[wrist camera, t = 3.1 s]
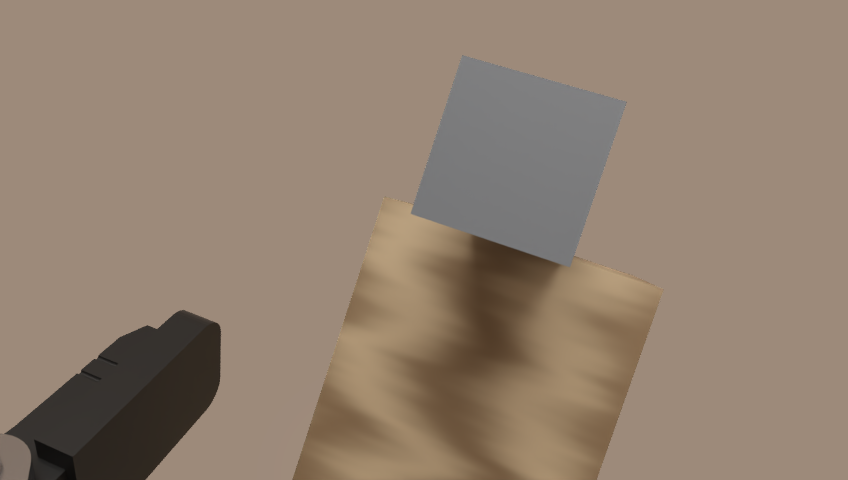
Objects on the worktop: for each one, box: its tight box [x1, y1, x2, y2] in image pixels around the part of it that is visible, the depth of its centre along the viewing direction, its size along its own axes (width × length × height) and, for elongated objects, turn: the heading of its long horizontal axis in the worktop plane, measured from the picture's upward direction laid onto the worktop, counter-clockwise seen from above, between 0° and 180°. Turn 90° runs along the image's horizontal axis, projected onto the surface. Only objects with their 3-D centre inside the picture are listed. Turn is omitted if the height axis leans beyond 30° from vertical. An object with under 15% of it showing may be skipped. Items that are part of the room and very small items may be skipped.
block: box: [411, 56, 627, 267], centre depth 31 cm, size 4×30×4 cm, turn 168°
